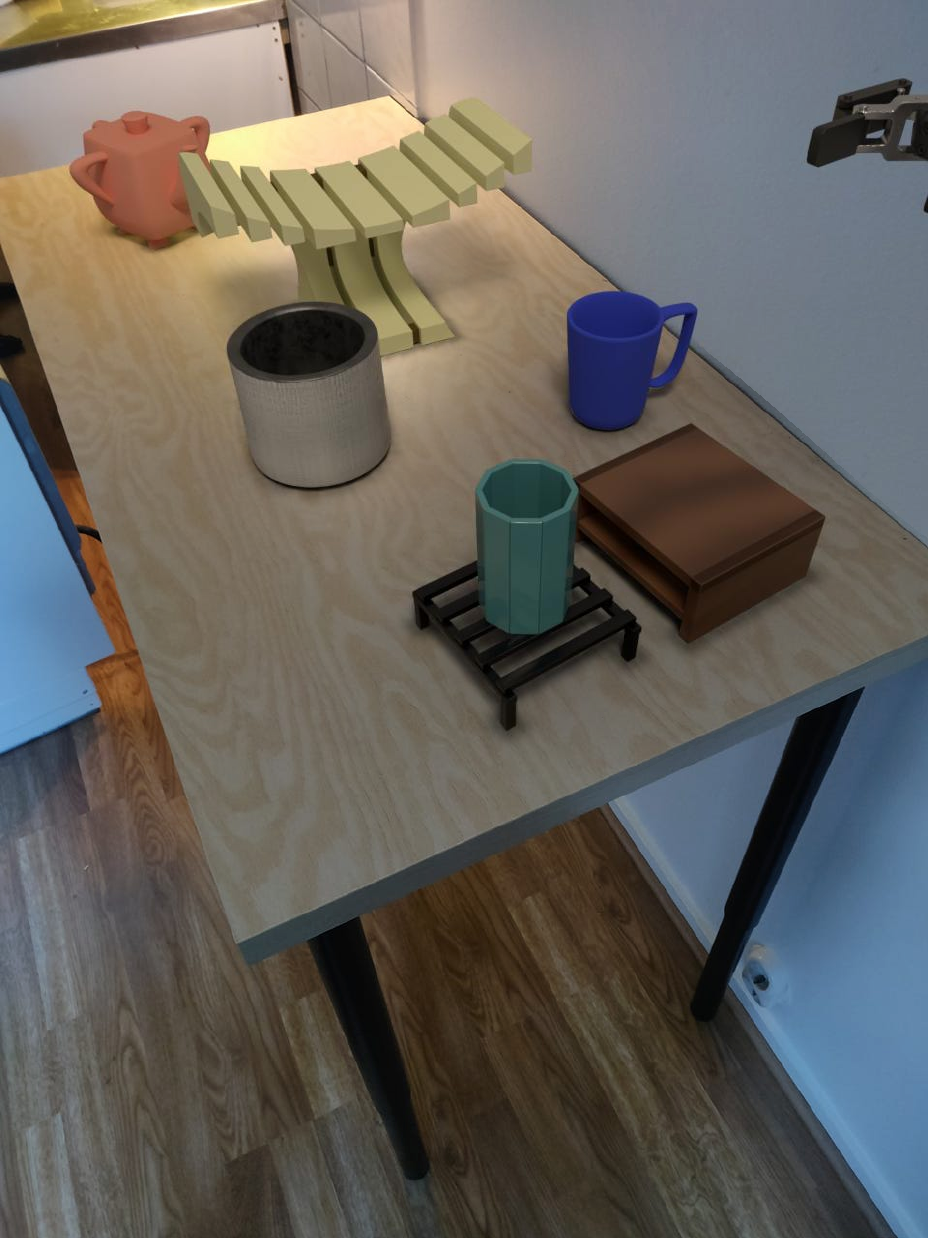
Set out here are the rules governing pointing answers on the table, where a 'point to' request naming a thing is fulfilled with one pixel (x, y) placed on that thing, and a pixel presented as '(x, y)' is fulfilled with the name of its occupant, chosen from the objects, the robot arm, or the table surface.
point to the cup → (525, 544)
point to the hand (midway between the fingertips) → (870, 171)
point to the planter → (311, 392)
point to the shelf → (697, 526)
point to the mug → (619, 355)
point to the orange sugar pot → (141, 172)
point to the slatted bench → (364, 213)
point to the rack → (520, 641)
